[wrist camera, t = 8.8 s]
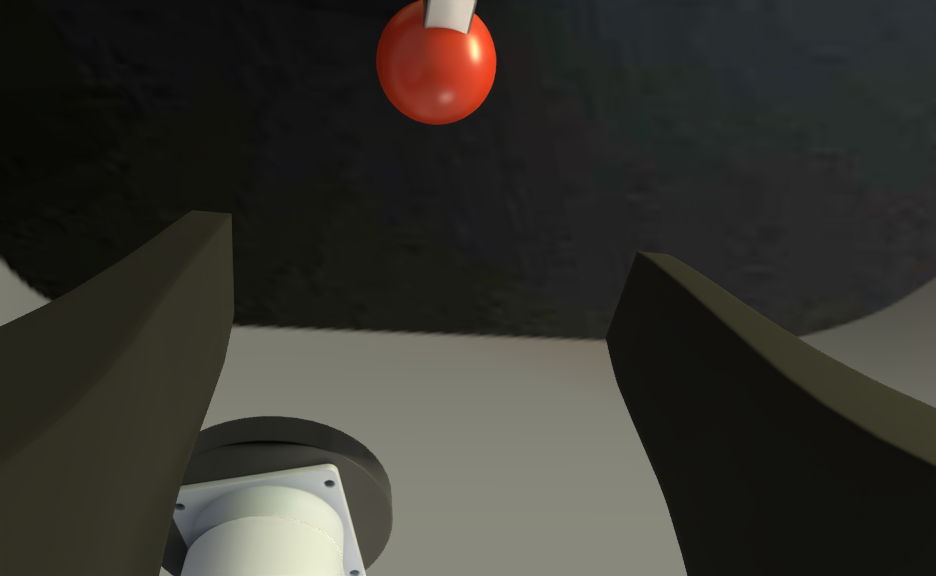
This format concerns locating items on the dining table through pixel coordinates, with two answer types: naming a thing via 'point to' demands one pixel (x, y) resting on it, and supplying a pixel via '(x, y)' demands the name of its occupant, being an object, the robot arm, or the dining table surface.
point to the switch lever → (436, 60)
